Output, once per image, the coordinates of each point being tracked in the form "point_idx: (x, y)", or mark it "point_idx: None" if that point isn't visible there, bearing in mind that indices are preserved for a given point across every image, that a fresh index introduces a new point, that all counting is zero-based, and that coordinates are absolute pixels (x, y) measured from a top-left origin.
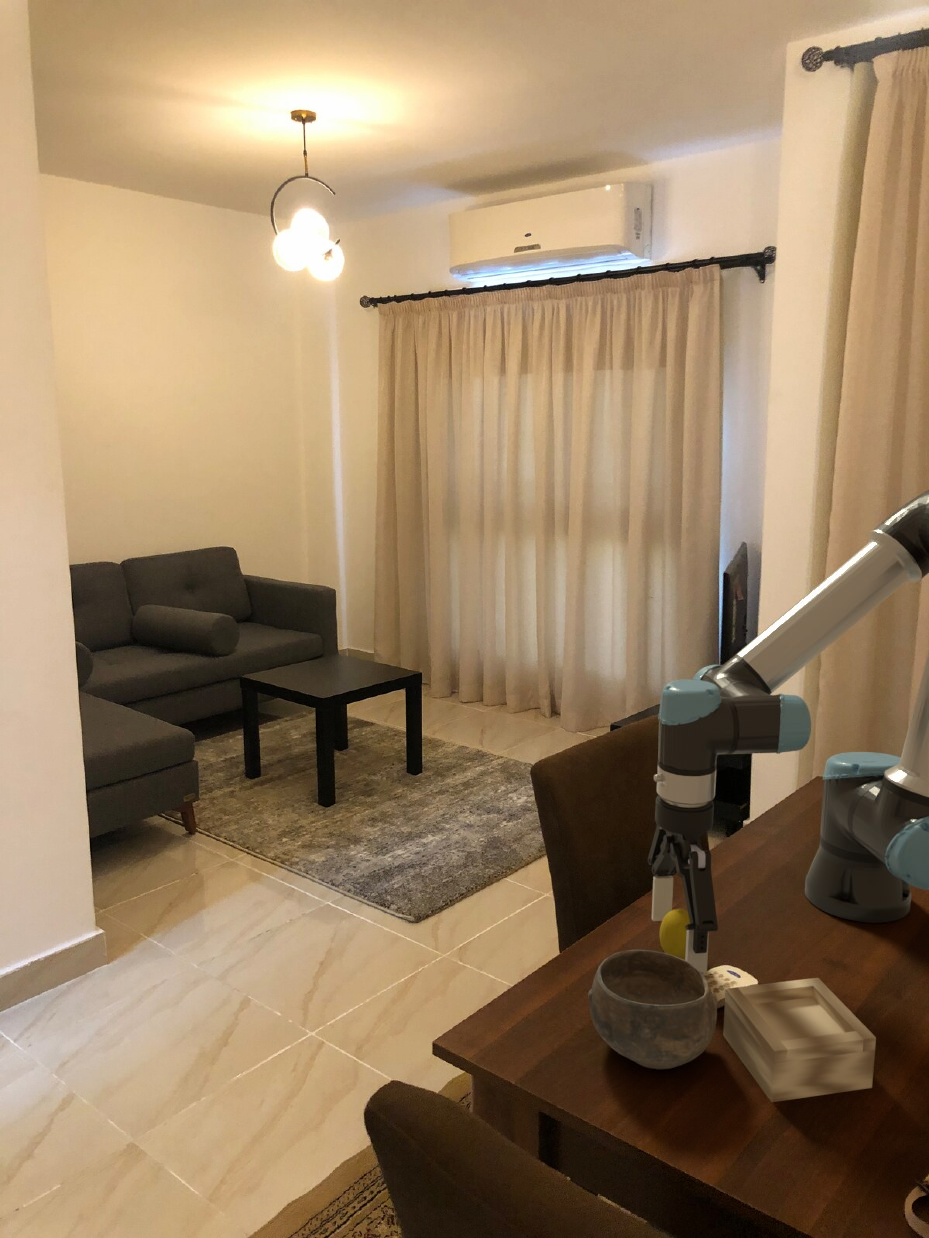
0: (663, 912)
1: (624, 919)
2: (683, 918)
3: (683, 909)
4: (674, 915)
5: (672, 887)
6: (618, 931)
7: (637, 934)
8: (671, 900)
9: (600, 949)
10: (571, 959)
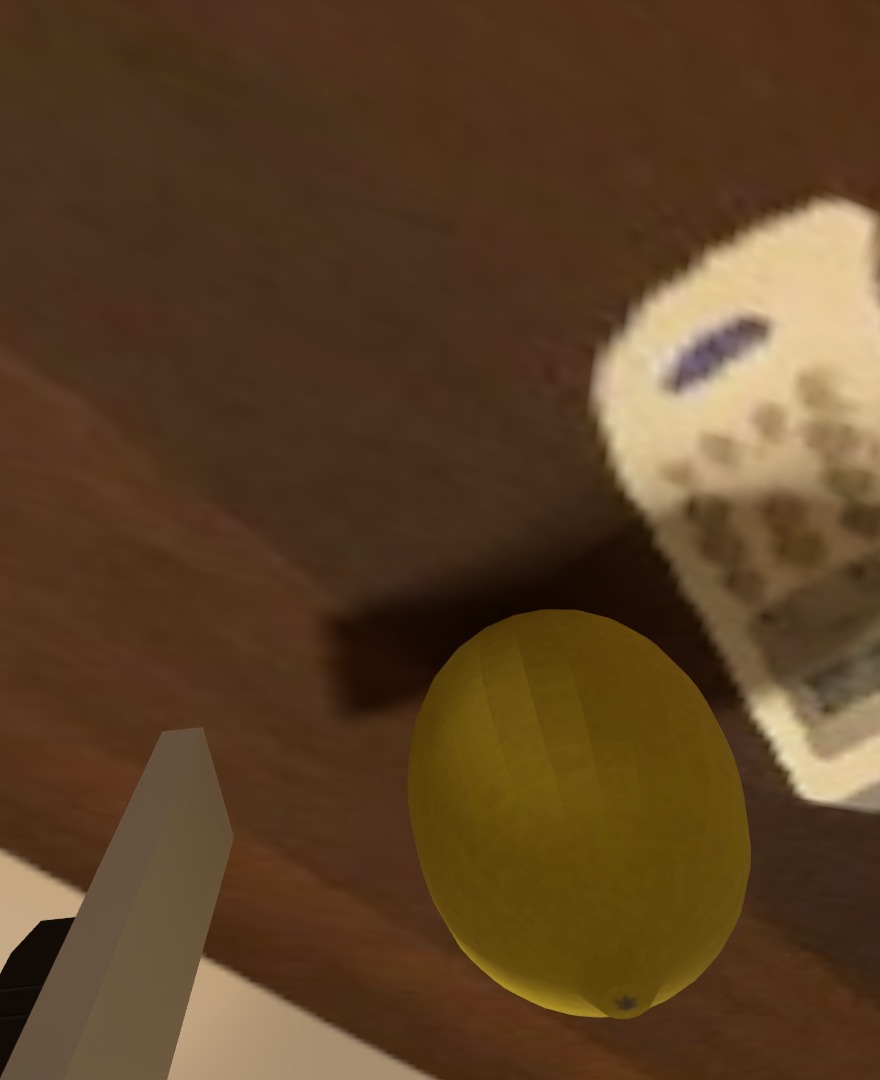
0: (199, 826)
1: (35, 846)
2: (706, 945)
3: (639, 984)
4: (651, 1006)
5: (101, 984)
6: None
7: None
8: (156, 863)
9: (375, 970)
10: (459, 1065)
